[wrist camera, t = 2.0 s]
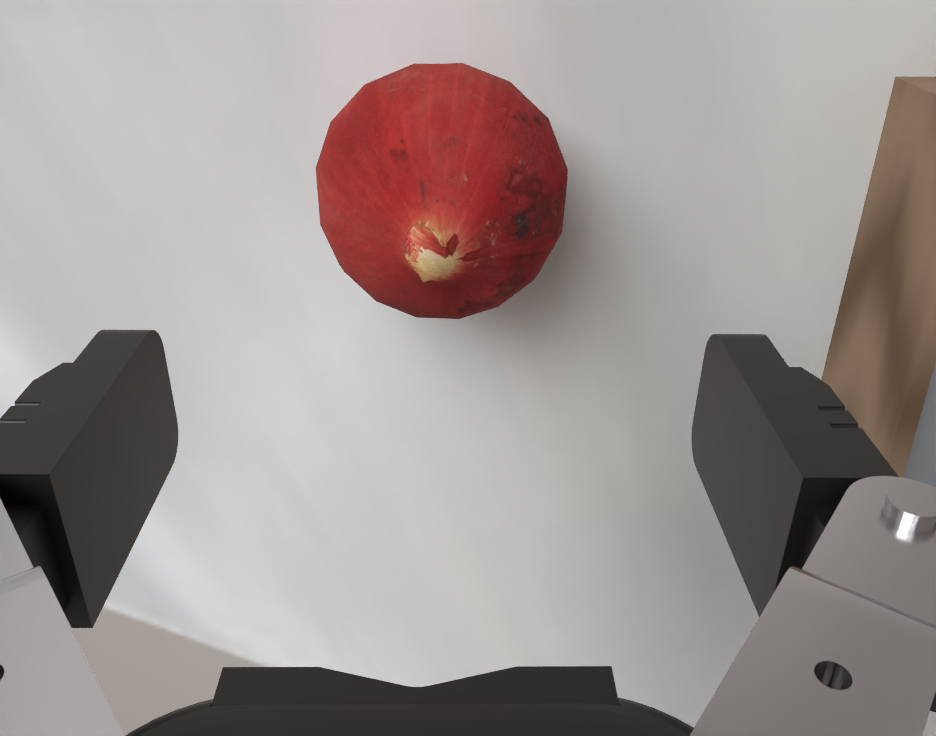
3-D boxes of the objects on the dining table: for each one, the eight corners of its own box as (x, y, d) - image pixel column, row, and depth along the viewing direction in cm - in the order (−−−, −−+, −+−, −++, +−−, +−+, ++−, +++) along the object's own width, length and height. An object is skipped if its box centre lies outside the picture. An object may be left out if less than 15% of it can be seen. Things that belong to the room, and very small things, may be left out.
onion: (558, 39, 22) (606, 114, 15) (544, 250, 25) (579, 394, 18) (330, 36, 22) (270, 109, 15) (343, 247, 24) (299, 393, 18)
